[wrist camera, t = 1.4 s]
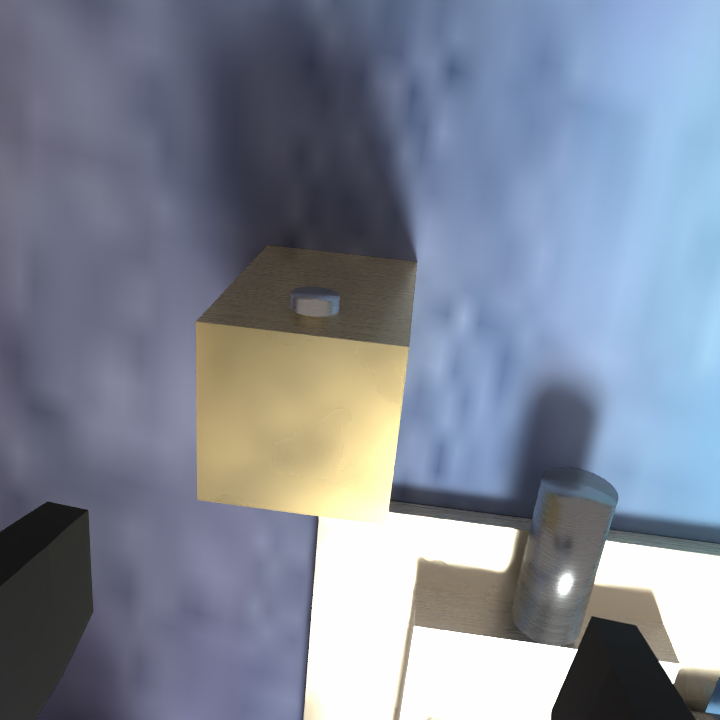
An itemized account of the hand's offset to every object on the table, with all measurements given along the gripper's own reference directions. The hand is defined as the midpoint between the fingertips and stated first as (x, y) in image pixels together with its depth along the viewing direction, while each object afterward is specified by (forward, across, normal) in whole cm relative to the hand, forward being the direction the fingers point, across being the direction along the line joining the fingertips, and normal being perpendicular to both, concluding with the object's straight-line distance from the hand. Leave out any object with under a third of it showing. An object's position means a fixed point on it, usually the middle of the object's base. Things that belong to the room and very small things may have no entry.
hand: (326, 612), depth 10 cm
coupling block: (+10, +2, 0) cm, 10 cm away
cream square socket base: (+10, -7, +10) cm, 16 cm away
